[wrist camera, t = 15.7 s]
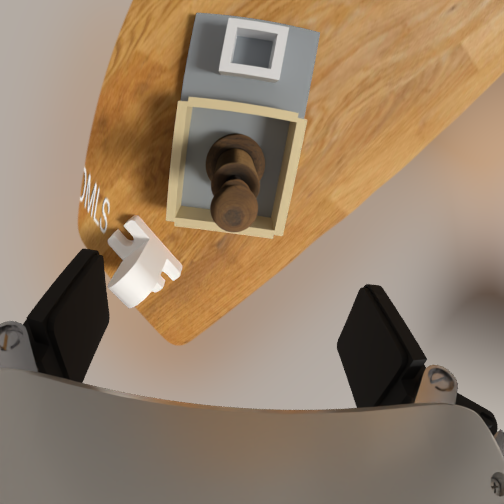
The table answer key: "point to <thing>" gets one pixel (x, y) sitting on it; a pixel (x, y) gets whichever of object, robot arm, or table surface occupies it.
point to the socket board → (241, 113)
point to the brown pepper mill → (235, 181)
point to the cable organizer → (140, 263)
